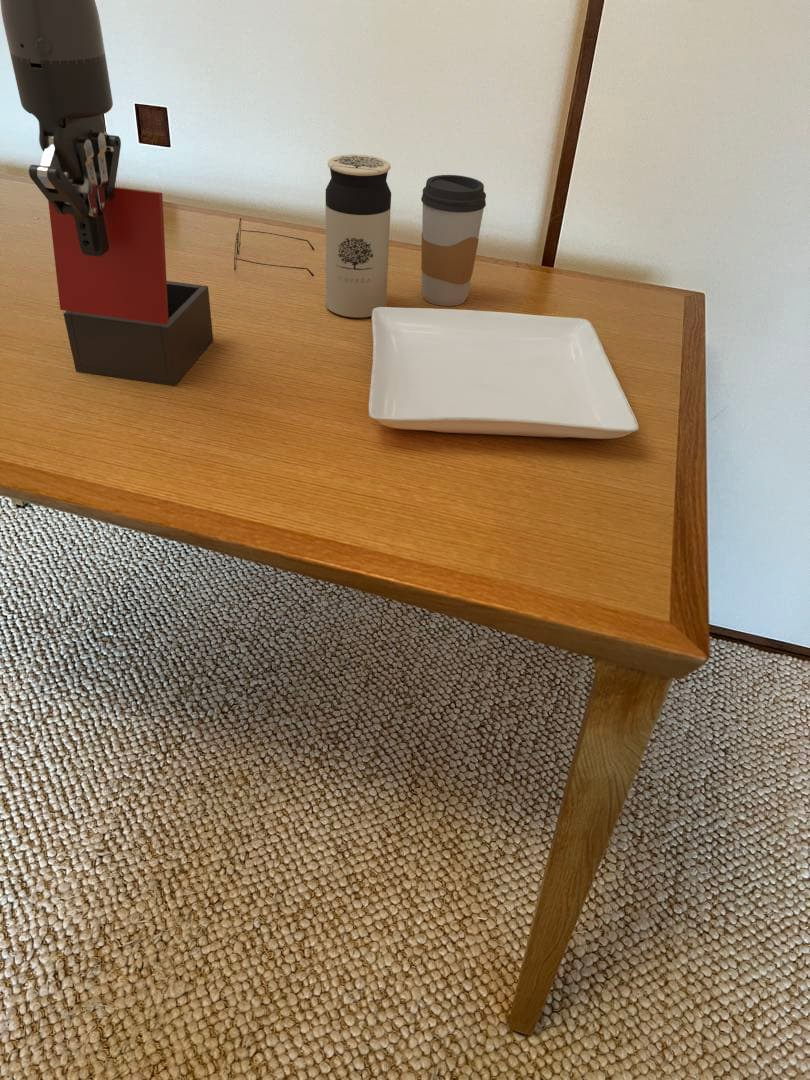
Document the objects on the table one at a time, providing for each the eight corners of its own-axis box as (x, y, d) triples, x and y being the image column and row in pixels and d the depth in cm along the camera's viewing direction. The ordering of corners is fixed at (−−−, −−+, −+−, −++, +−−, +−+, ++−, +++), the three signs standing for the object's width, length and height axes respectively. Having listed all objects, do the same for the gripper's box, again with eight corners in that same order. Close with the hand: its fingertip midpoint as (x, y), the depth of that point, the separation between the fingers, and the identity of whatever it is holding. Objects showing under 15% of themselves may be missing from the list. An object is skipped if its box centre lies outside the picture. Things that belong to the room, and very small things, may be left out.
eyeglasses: (314, 247, 124) (314, 213, 121) (314, 279, 114) (313, 243, 111) (239, 245, 123) (237, 211, 119) (232, 277, 113) (230, 241, 110)
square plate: (634, 459, 83) (643, 427, 80) (366, 448, 81) (367, 414, 79) (585, 342, 104) (591, 313, 101) (371, 331, 102) (372, 301, 100)
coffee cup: (446, 281, 117) (457, 170, 107) (486, 301, 112) (501, 187, 102) (401, 293, 112) (408, 178, 103) (441, 314, 108) (452, 197, 98)
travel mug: (337, 291, 111) (338, 150, 100) (393, 301, 110) (400, 159, 99) (316, 313, 105) (315, 166, 94) (375, 324, 104) (381, 175, 93)
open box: (122, 328, 99) (112, 273, 95) (213, 340, 98) (208, 286, 93) (75, 371, 90) (63, 313, 86) (175, 386, 89) (167, 327, 85)
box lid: (50, 178, 80) (45, 179, 79) (162, 192, 79) (159, 193, 78) (64, 308, 86) (60, 310, 85) (168, 322, 85) (165, 324, 84)
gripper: (55, 32, 73) (91, 226, 84) (-31, 56, 63) (23, 273, 74) (134, 39, 73) (160, 235, 84) (59, 65, 63) (100, 283, 74)
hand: (95, 252), depth 79 cm, fingers closed
